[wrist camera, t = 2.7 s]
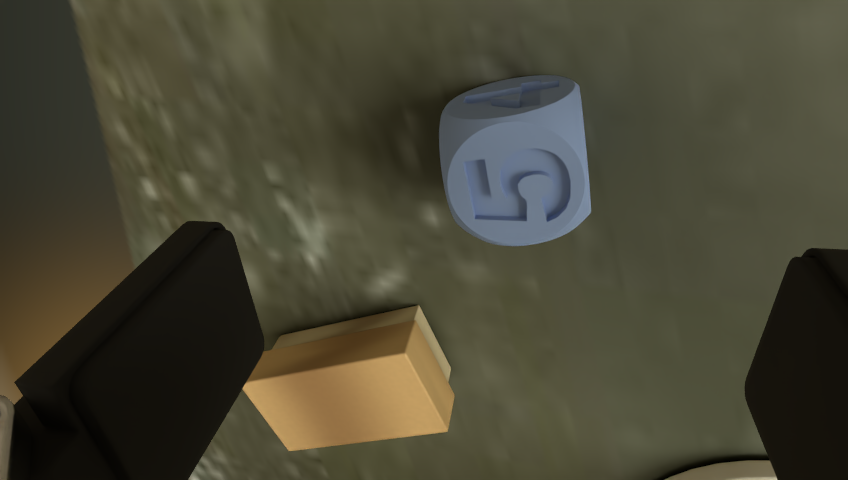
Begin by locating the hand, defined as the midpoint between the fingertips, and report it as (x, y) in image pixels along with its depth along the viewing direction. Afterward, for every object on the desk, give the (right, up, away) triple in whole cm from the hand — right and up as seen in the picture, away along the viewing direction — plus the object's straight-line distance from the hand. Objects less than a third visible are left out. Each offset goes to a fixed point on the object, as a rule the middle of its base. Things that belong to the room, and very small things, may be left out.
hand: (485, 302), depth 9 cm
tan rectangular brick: (-4, -4, +16) cm, 17 cm away
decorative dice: (+2, +5, +9) cm, 10 cm away
